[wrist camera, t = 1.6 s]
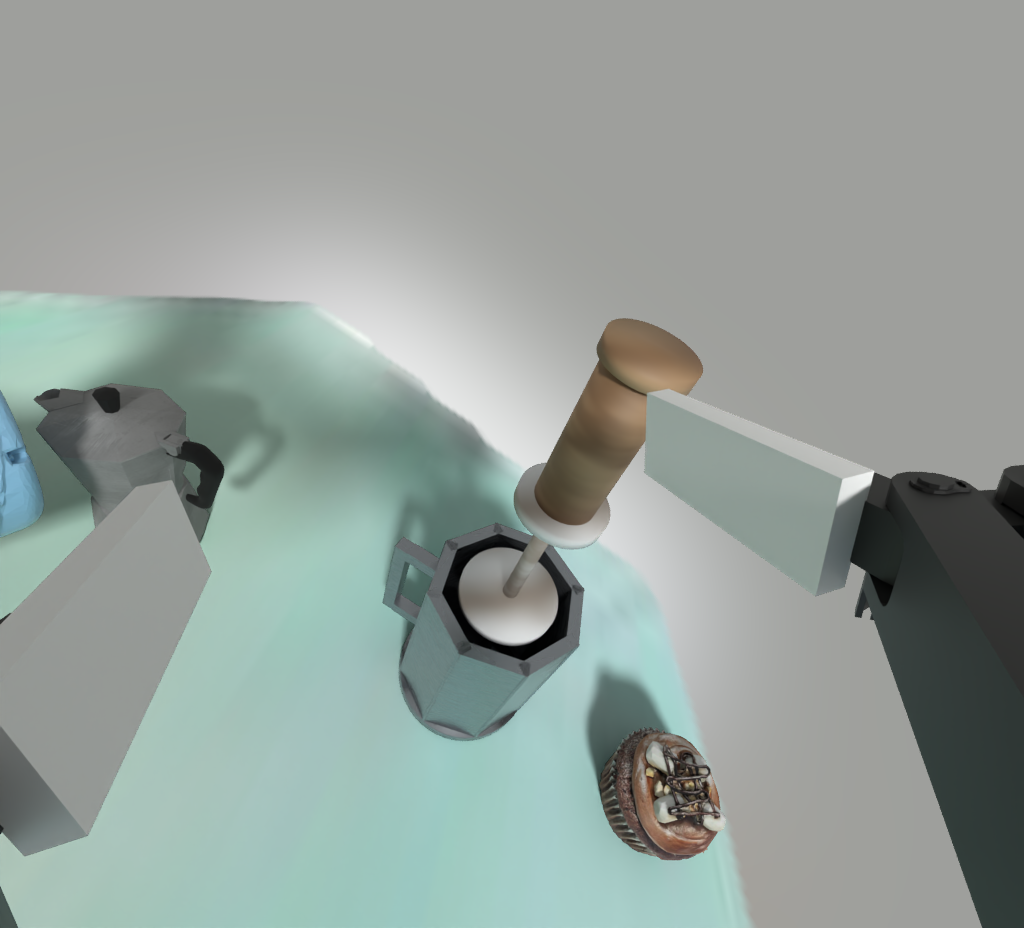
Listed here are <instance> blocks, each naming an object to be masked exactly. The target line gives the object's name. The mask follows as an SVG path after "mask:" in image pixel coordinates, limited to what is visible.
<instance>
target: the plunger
mask: <svg viewBox="0 0 1024 928" xmlns="http://www.w3.org/2000/svg"><path fill="white" fill-rule="evenodd" d="M597 354H598V357H599V361H598V363H597V365H596V367H595V369H594V371H593V373H592V375H591V377H590V379H589V381H588V383H587V385H586V387H585V389H584V391H583V393H582V395H581V397H580V399H579V401H578V403H577V405H576V406H575V409H574V410H573V412H572V414H571V416H570V418H569V420H568V422H567V424H566V426H565V428H564V430H563V432H562V434H561V436H560V438H559V440H558V442H557V444H556V446H555V448H554V450H553V452H552V454H551V456H550V458H549V460H548V462H547V463H541V464H537V465H535V466H532V467H531V468H529V469H528V470H526V471H525V473H524V474H523V475H522V477H521V479H520V481H519V483H518V485H517V487H516V490H515V492H514V507H515V510H516V513H517V515H518V517H519V519H520V521H521V522H522V523H523V525H524V526H525V527H526V528H527V529H528V530H529V531H530V532H531V533H532V534H533V536H532V538H531V540H530V541H529V543H528V545H527V547H526V549H525V550H524V552H521V551H519V550H515V549H511V548H492V549H488V550H485V551H483V552H480V553H479V554H477V555H476V556H474V557H473V558H472V559H471V560H470V561H469V562H468V563H467V565H466V567H465V568H464V570H463V573H462V575H461V577H460V580H459V584H458V601H459V605H460V608H461V611H462V613H463V615H464V617H465V619H466V620H467V622H468V623H469V624H470V625H471V627H472V628H473V629H474V630H475V631H476V632H478V633H479V634H480V635H482V636H483V637H484V638H486V639H488V640H490V641H492V642H495V643H497V644H501V645H507V646H520V645H525V644H529V643H531V642H533V641H535V640H537V639H538V638H540V637H541V636H542V635H543V634H544V633H545V632H546V631H547V629H548V628H549V627H550V626H551V624H552V623H553V621H554V619H555V616H556V614H557V609H558V595H557V590H556V587H555V584H554V582H553V580H552V578H551V576H550V575H549V573H548V572H547V570H546V569H545V568H544V567H543V566H542V565H541V564H540V563H539V562H538V560H539V559H540V557H541V555H542V554H543V552H544V551H545V549H546V547H547V546H548V544H550V545H552V546H555V547H558V548H563V549H581V548H585V547H588V546H590V545H591V544H593V543H594V542H595V541H596V540H597V539H598V538H599V537H600V535H601V534H602V533H603V531H604V530H605V529H606V527H607V525H608V523H609V520H610V507H609V503H608V501H607V499H606V497H607V496H608V494H609V493H610V491H611V490H612V488H613V487H614V486H615V484H616V483H617V481H618V480H619V478H620V477H621V475H622V474H623V473H624V471H625V470H626V468H627V467H628V465H629V464H630V462H631V461H632V459H633V458H634V457H635V455H636V454H637V452H638V451H639V449H640V448H641V446H642V445H643V443H644V442H645V441H646V410H647V393H649V392H654V391H660V390H665V389H670V390H673V391H675V392H678V393H680V394H683V395H685V396H687V395H688V394H689V392H690V391H691V390H692V388H693V387H694V385H695V384H696V382H697V381H698V379H699V378H700V377H701V375H702V373H703V367H702V364H701V362H700V359H699V358H698V356H697V355H696V354H695V353H694V352H693V350H692V349H691V348H690V347H688V346H687V345H686V344H685V343H684V342H682V341H681V340H680V339H678V338H677V337H675V336H673V335H672V334H670V333H669V332H667V331H665V330H663V329H661V328H659V327H657V326H654V325H652V324H649V323H646V322H643V321H639V320H633V319H616V320H613V321H611V322H609V323H608V325H607V326H606V328H605V331H604V332H603V334H602V336H601V339H600V341H599V343H598V345H597Z"/></svg>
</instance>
